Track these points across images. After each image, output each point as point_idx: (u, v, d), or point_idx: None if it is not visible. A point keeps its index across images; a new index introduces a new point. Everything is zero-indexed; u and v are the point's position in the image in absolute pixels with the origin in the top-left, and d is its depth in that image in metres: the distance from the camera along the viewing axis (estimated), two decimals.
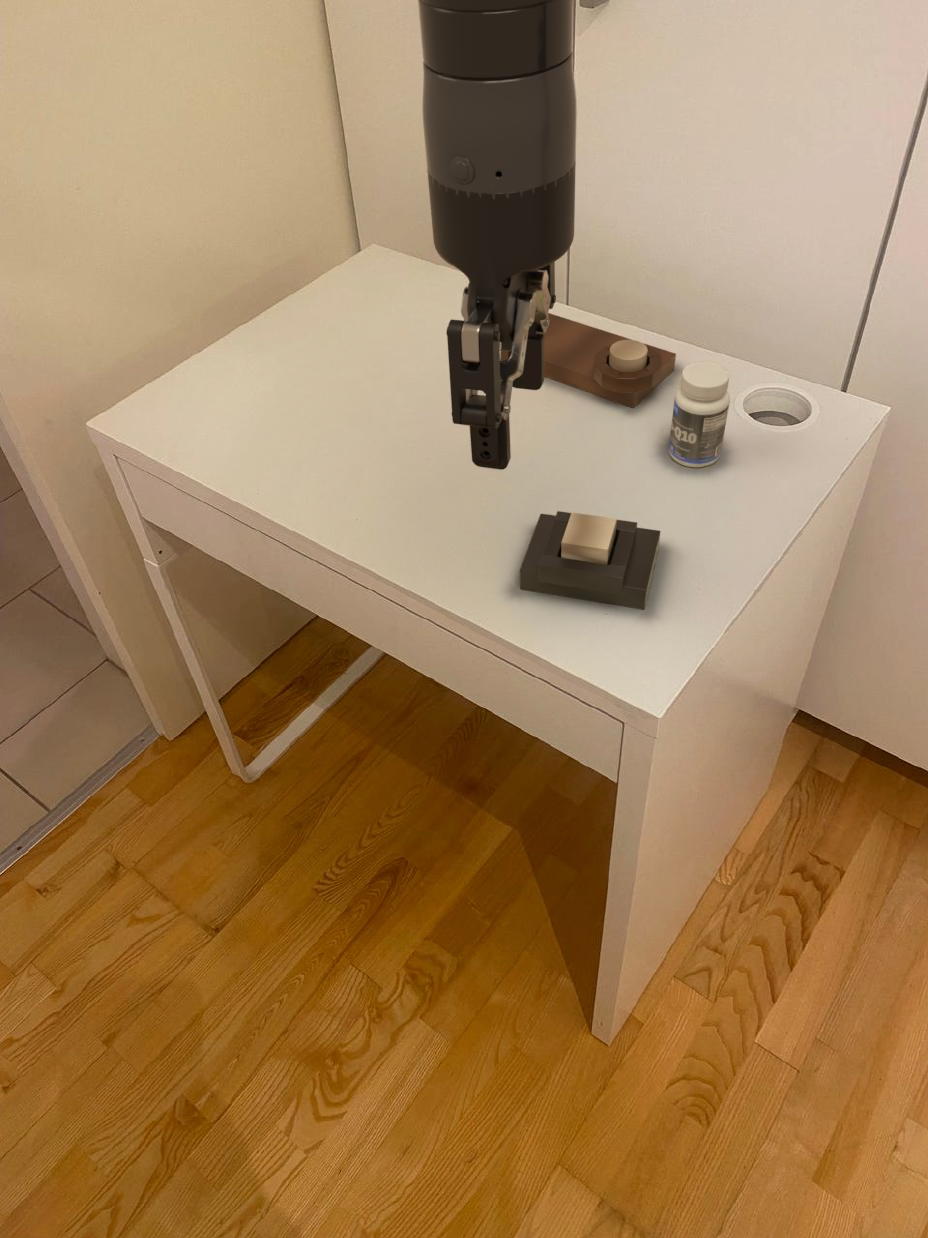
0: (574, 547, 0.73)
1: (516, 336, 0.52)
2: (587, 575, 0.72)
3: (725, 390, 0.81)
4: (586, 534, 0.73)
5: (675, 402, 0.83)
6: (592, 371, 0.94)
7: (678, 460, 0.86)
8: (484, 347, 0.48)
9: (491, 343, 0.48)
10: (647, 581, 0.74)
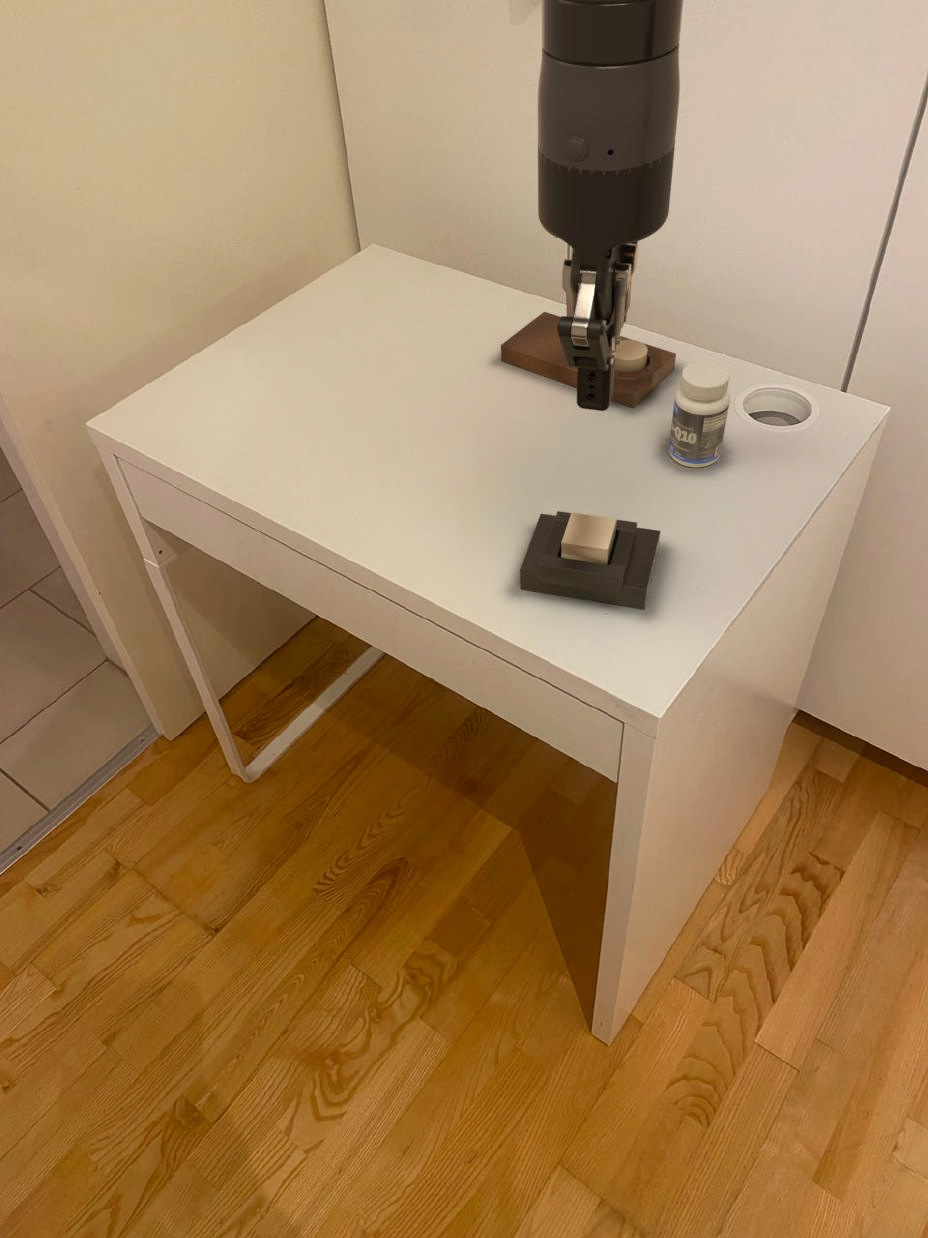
0: (574, 547, 0.73)
1: (616, 306, 0.58)
2: (587, 575, 0.72)
3: (725, 390, 0.81)
4: (586, 534, 0.73)
5: (675, 402, 0.83)
6: None
7: (678, 460, 0.86)
8: (592, 342, 0.55)
9: (598, 341, 0.55)
10: (647, 581, 0.74)
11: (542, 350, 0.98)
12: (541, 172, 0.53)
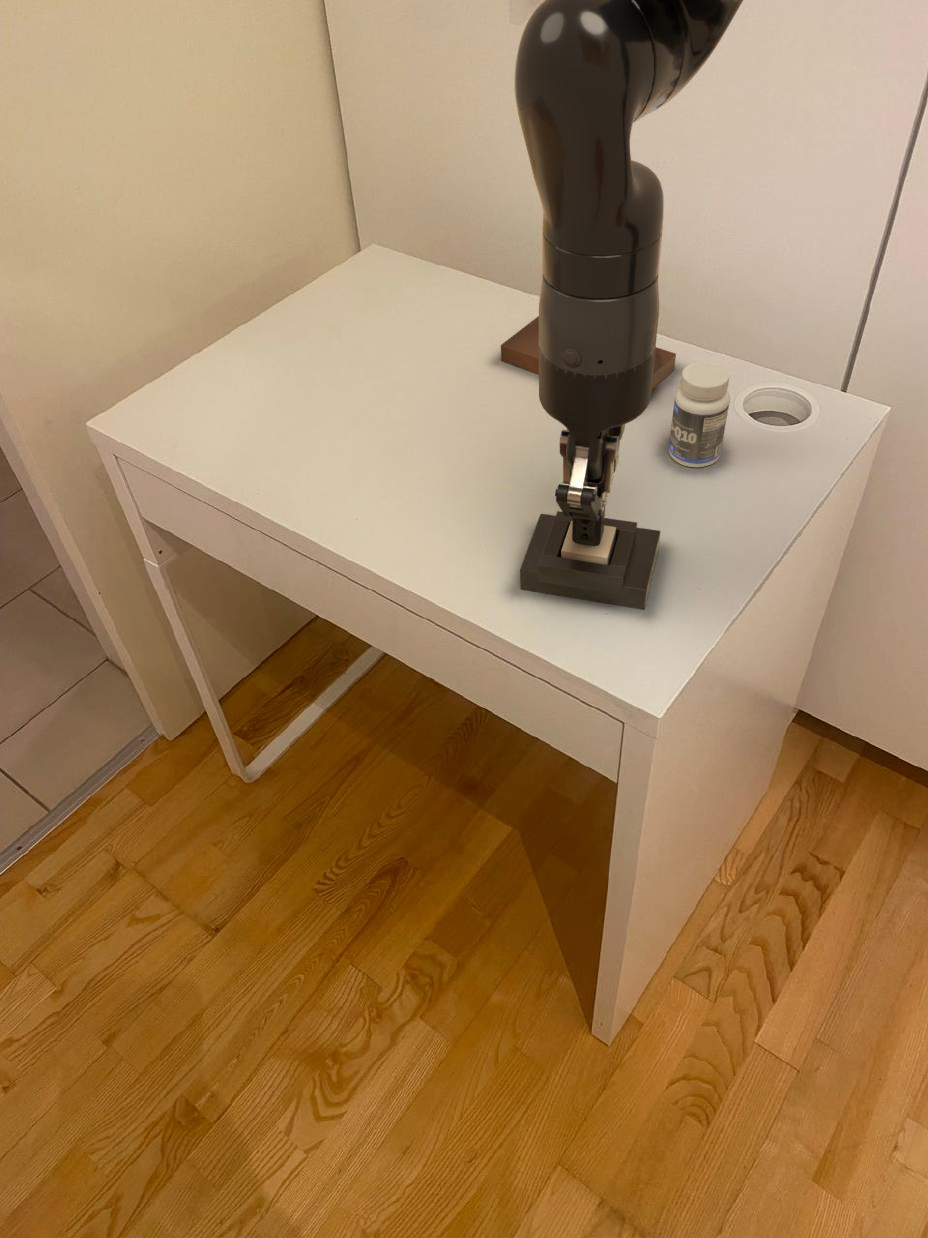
0: (574, 555, 0.73)
1: (606, 470, 0.67)
2: (587, 575, 0.72)
3: (725, 390, 0.81)
4: None
5: (675, 402, 0.83)
6: None
7: (678, 460, 0.86)
8: (585, 506, 0.64)
9: (590, 506, 0.64)
10: (647, 581, 0.74)
11: None
12: (541, 367, 0.62)
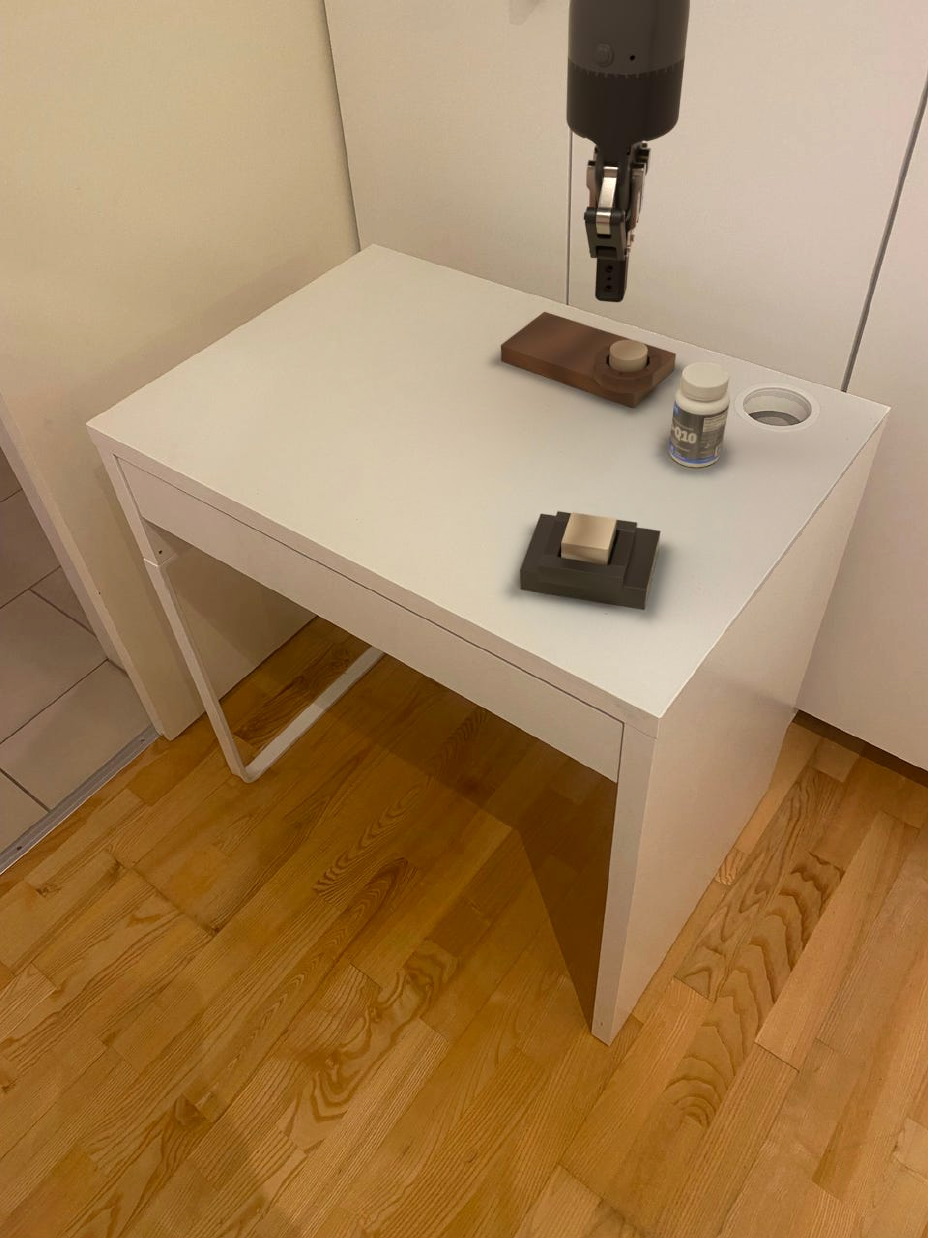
0: (574, 547, 0.73)
1: (632, 202, 0.67)
2: (587, 575, 0.72)
3: (725, 390, 0.81)
4: (586, 534, 0.73)
5: (675, 402, 0.83)
6: (592, 371, 0.94)
7: (678, 460, 0.86)
8: (614, 229, 0.64)
9: (619, 227, 0.64)
10: (647, 581, 0.74)
11: (542, 350, 0.98)
12: (571, 79, 0.62)
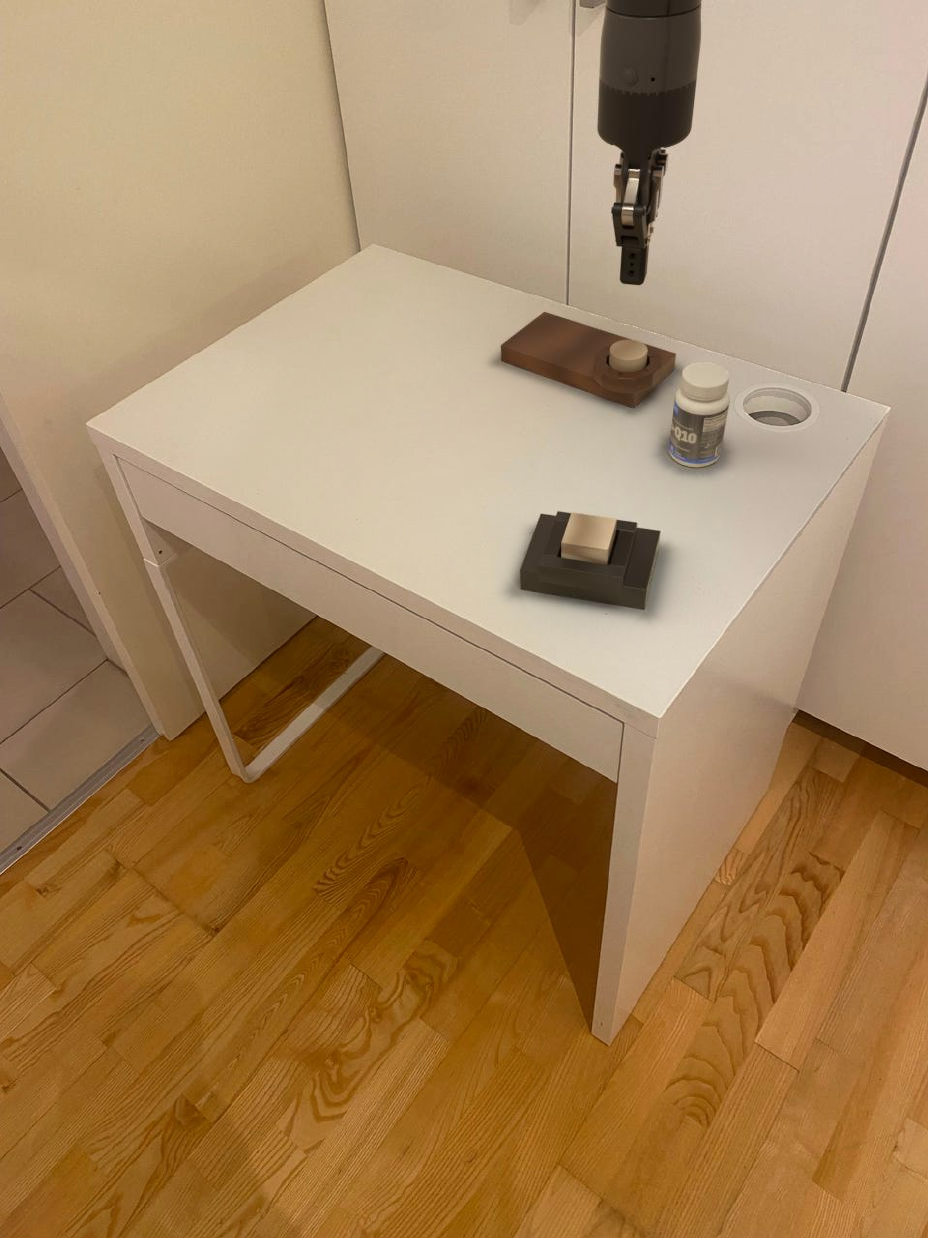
0: (574, 547, 0.73)
1: (652, 199, 0.79)
2: (587, 575, 0.72)
3: (725, 390, 0.81)
4: (586, 534, 0.73)
5: (675, 402, 0.83)
6: (592, 371, 0.94)
7: (678, 460, 0.86)
8: (636, 221, 0.77)
9: (641, 220, 0.77)
10: (647, 581, 0.74)
11: (542, 350, 0.98)
12: (601, 96, 0.74)
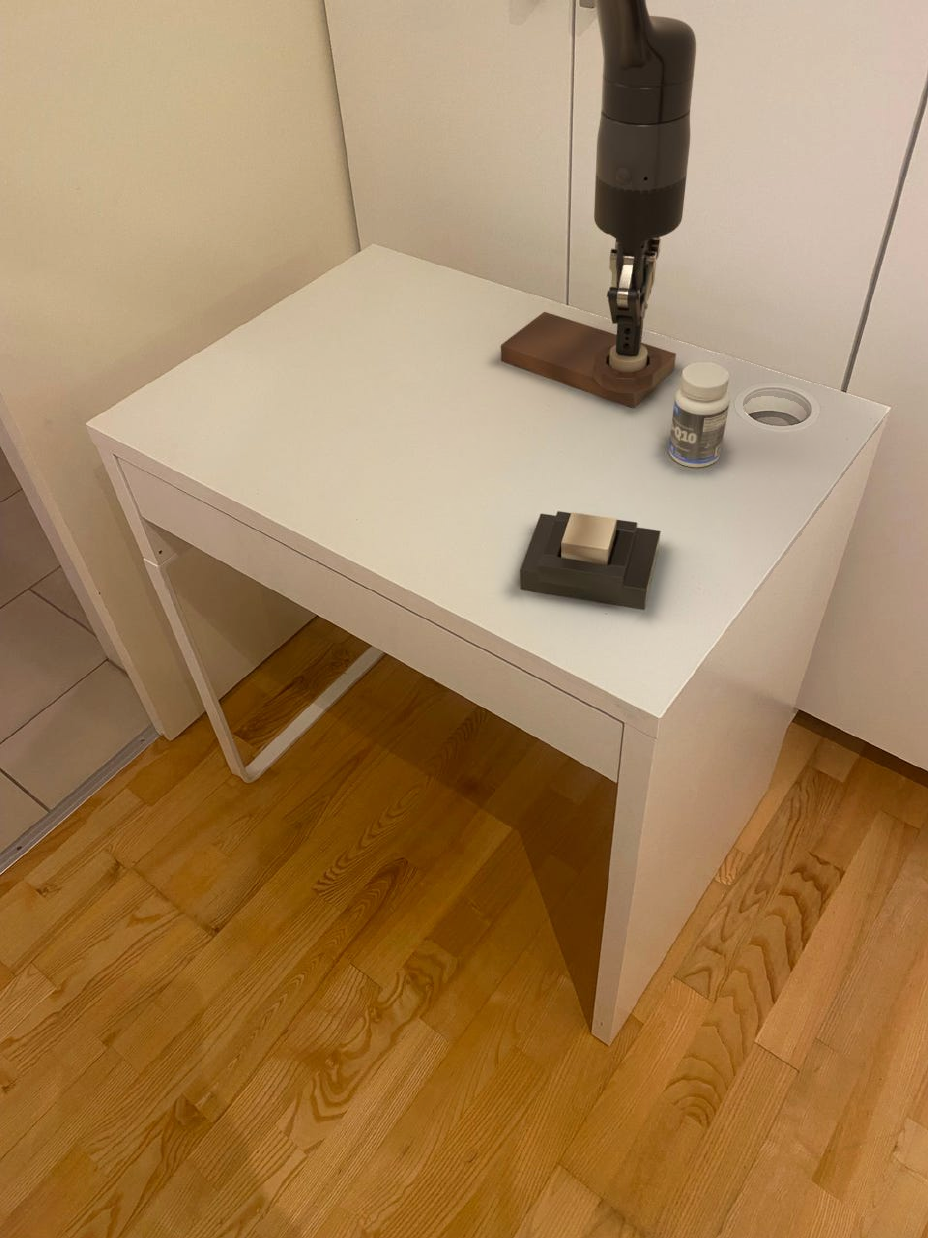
0: (574, 547, 0.73)
1: (645, 281, 0.85)
2: (587, 575, 0.72)
3: (725, 390, 0.81)
4: (586, 534, 0.73)
5: (675, 402, 0.83)
6: (592, 371, 0.94)
7: (678, 460, 0.86)
8: (631, 304, 0.82)
9: (635, 303, 0.82)
10: (647, 581, 0.74)
11: (542, 350, 0.98)
12: (598, 190, 0.80)
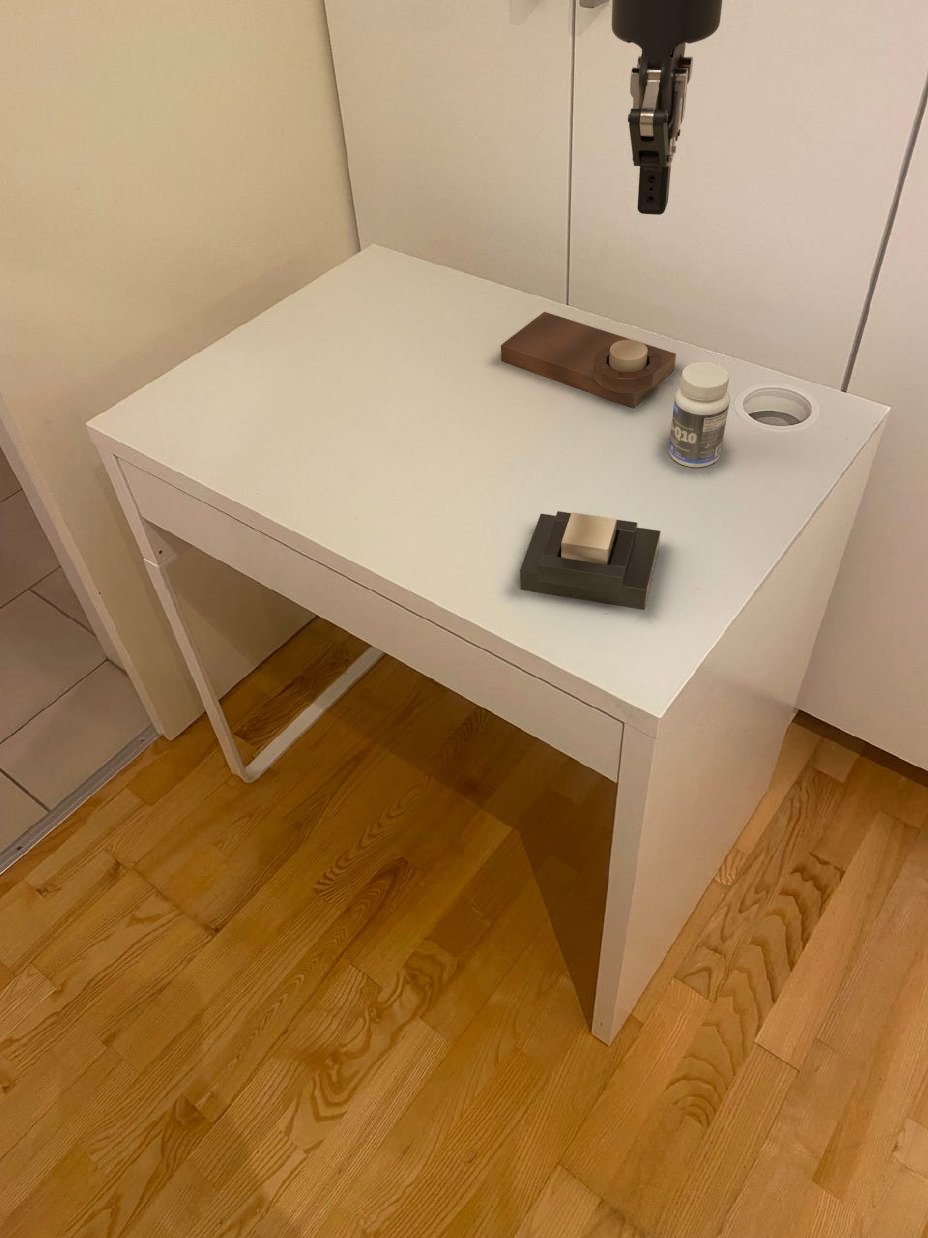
0: (574, 547, 0.73)
1: (674, 108, 0.69)
2: (587, 575, 0.72)
3: (725, 390, 0.81)
4: (586, 534, 0.73)
5: (675, 402, 0.83)
6: (592, 371, 0.94)
7: (678, 460, 0.86)
8: (657, 130, 0.67)
9: (662, 127, 0.67)
10: (647, 581, 0.74)
11: (542, 350, 0.98)
12: None
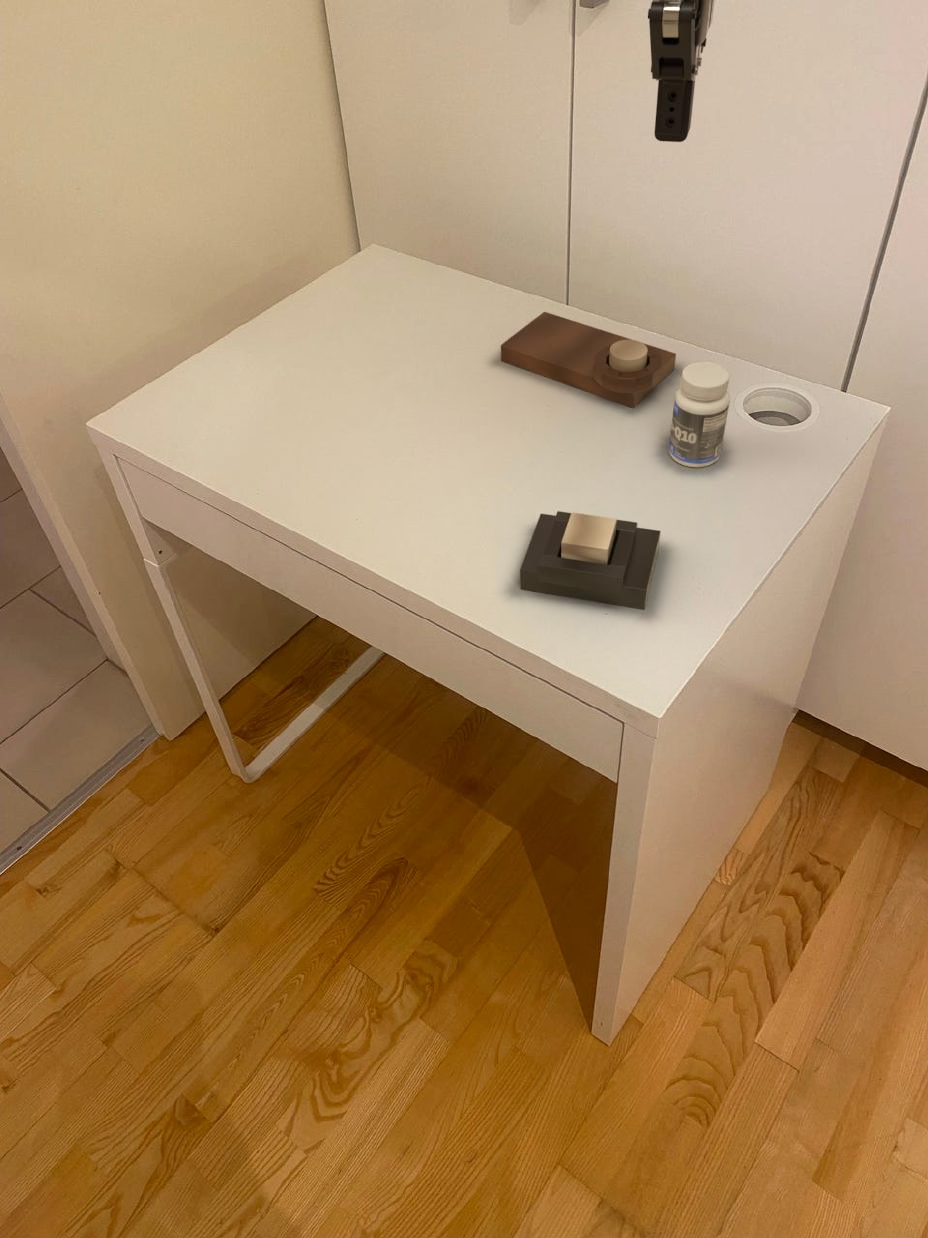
0: (574, 547, 0.73)
1: (703, 6, 0.57)
2: (587, 575, 0.72)
3: (725, 390, 0.81)
4: (586, 534, 0.73)
5: (675, 402, 0.83)
6: (592, 371, 0.94)
7: (678, 460, 0.86)
8: (683, 28, 0.55)
9: (690, 25, 0.55)
10: (647, 581, 0.74)
11: (542, 350, 0.98)
12: None
